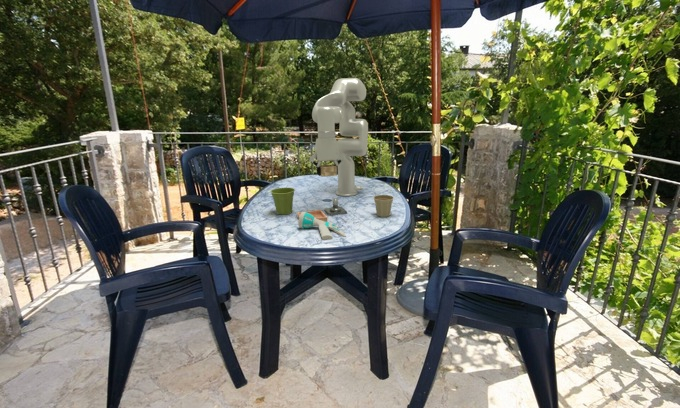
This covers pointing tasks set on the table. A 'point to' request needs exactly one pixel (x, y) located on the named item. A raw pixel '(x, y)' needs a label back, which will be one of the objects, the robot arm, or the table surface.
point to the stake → (335, 209)
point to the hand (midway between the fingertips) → (327, 174)
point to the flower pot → (383, 205)
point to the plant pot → (283, 200)
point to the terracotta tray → (316, 215)
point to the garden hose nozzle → (309, 221)
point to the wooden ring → (328, 170)
